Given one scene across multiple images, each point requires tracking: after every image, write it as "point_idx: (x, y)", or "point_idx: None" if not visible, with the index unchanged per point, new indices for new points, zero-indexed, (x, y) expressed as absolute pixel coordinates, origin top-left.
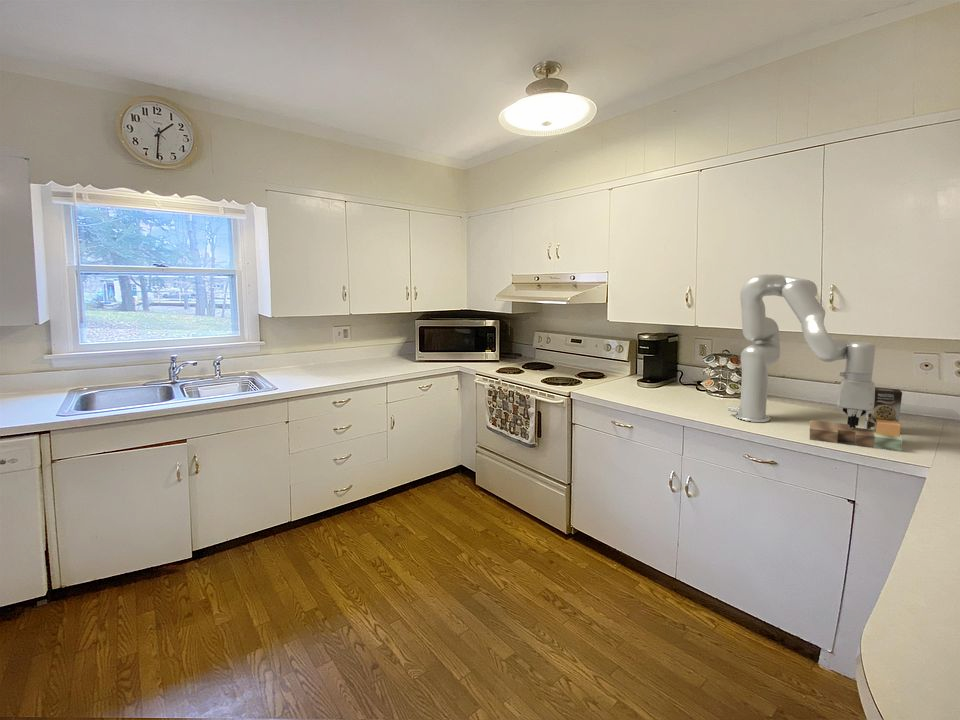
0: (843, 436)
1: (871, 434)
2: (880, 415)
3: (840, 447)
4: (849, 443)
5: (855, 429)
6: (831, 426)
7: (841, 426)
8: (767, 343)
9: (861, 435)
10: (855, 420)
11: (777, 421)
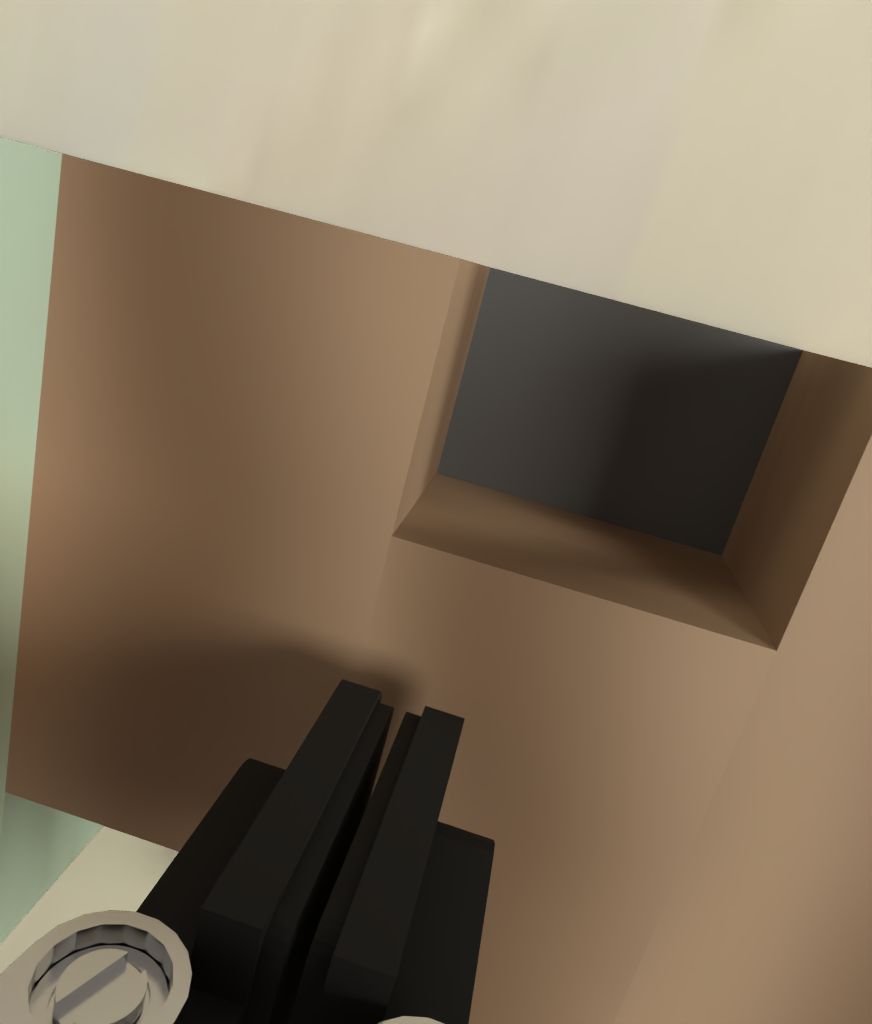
0: (620, 554)
1: (94, 370)
2: None
3: (865, 13)
4: (581, 308)
5: None
6: (805, 909)
7: (553, 934)
8: None
9: (344, 233)
10: (282, 822)
11: None
